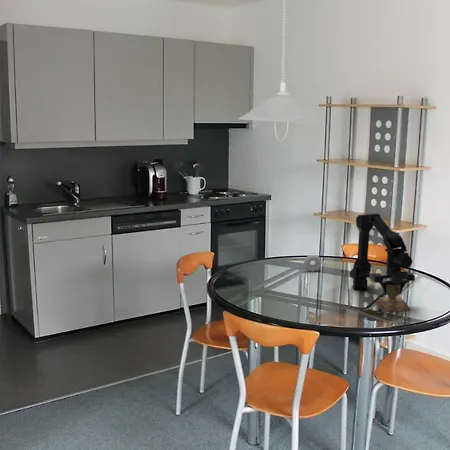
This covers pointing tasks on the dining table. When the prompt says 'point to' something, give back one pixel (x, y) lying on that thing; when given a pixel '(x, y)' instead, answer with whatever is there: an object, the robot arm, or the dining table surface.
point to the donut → (309, 259)
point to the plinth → (392, 304)
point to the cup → (392, 289)
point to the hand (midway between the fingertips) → (392, 294)
